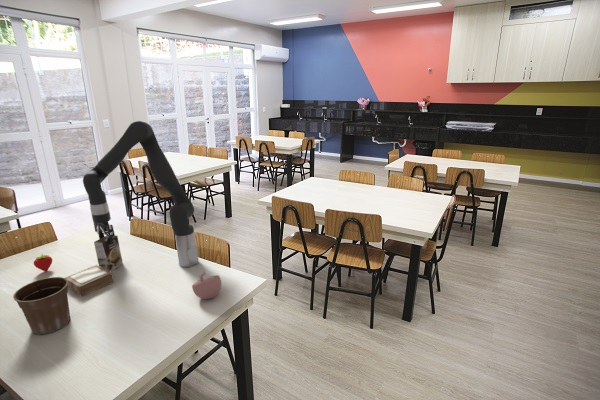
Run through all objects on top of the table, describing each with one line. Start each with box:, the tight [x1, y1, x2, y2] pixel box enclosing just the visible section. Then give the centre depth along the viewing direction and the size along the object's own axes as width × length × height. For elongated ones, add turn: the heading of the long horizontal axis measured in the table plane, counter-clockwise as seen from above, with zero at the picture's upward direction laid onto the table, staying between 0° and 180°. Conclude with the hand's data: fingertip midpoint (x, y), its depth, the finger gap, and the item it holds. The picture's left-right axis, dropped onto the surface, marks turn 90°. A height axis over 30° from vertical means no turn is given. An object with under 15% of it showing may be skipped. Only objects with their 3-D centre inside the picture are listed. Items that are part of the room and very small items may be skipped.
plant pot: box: [12, 276, 71, 336], centre depth 124 cm, size 16×16×16 cm
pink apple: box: [191, 271, 222, 300], centre depth 140 cm, size 12×12×12 cm
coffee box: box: [93, 235, 123, 273], centre depth 165 cm, size 9×6×16 cm
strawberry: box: [33, 253, 53, 272], centre depth 164 cm, size 6×8×10 cm
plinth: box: [64, 264, 115, 298], centre depth 152 cm, size 14×14×5 cm
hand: (106, 242), depth 164 cm, fingers open, 8 cm apart
